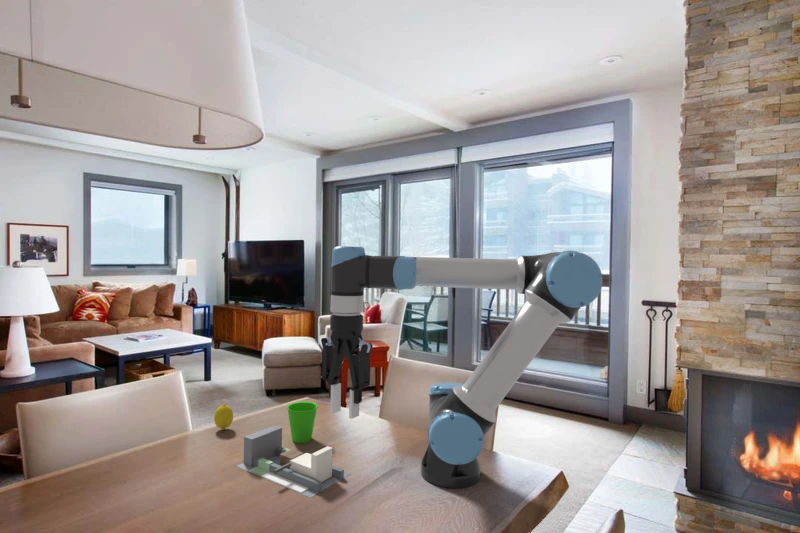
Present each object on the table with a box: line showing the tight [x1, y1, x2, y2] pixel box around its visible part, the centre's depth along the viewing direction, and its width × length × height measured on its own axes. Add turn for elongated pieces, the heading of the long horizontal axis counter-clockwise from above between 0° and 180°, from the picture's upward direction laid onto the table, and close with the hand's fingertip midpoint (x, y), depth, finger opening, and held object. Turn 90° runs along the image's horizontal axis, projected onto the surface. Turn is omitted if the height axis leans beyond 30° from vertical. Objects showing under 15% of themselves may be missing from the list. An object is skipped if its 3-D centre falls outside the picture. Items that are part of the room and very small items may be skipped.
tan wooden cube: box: [280, 448, 304, 469], centre depth 114 cm, size 4×4×4 cm
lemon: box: [213, 403, 234, 431], centre depth 142 cm, size 6×6×8 cm
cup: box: [286, 400, 319, 444], centre depth 133 cm, size 9×9×11 cm
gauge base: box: [235, 425, 351, 499], centre depth 114 cm, size 26×14×8 cm, turn 57°
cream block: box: [274, 445, 334, 482], centre depth 108 cm, size 9×11×7 cm
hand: (344, 414), depth 105 cm, fingers open, 5 cm apart
